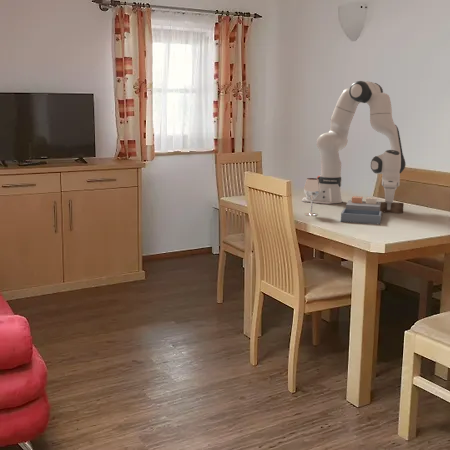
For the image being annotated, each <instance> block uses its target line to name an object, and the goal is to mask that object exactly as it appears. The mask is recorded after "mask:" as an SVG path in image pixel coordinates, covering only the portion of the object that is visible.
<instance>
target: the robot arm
mask: <svg viewBox="0 0 450 450" xmlns="http://www.w3.org/2000/svg"><path fill="white" fill-rule="evenodd" d="M361 103H362V104H367V105H368V106H369V121H370V126H371V127H372V129H373V130H375V132H378V133H380V134H382V135H384V136H386V138H388V140H389V147H390V149H387V150H385V151H384V152H383V153H382V154H378V155H376V156H374V157H372V159H371V162H370V169H371V172H373V173H374V174H377V175H382V177H381V186H383V189H384V202H386V203H387V210H390V209H391V203H393V202H394V198H395V192H396V190H397V189H398V187H400V184H401V182H400V181H401V175H400V174H402V172H404V170H405V169H406V160H405V157H404V153H403V146H402V142H401V135H400V130H399V127H398V126H397V125H396V124H395V121H394V119H393V110H392V102H391V97H390V95H389V94H387V93H385V92H384V90H383V87H382V86H381V85H380V84H378V83H376V82H372V81H369V80H367V81H365V80H357V81H354V82H353V83H352V84H351V85H350V86H349V87H347V88H344V90H343V91H342V93H341V94H340V96H339V97H338V99H337V101H336V104H335V107H334V109H333V112H332V115H331V116H330V117H331V118H330V128H329V130H328V131H327V132H324V133H322V134H320V135H319V136H318V137H317V139H316V146H317V149H318V151H319V157H320V165H321V166H320V175H318V176H317V177H316V178H317V179H319V183H320V189H321V191H320V193H319V195H318V196H317V197H315V198H314V199H313V202H312V204H313V203H315V204H324V205H325V204H326V205H330V204H340V203H342V202H343V199H342V191H341V189H342V188H341V187H342V181H343V180H342V161H341V159H340V154H339V152H340V151H342V150H343V149H344V148H345V147H346V146H347V145H348V136H349V130H350V127H351V123H352V122H353V119H354V116H355V113H356V110H357V108H358V106H359V105H360V104H361ZM301 201H302V202H305V203H311V200H310V198H309V197H308V196H307V195H306V194H305V196H304V197H302V199H301Z"/></svg>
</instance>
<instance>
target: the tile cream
mask: <svg viewBox="0 0 450 450" xmlns="http://www.w3.org/2000/svg"><path fill="white" fill-rule="evenodd" d="M365 201H366V204H376V203H377V202H378V197H376V196H375V197H371V196H367V197H366V199H365Z"/></svg>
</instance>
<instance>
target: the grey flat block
mask: <svg viewBox="0 0 450 450" xmlns="http://www.w3.org/2000/svg"><path fill="white" fill-rule="evenodd" d="M381 202H382V201H377V203H376V204H366V200H363V202H362V203H352V199H351V200H349V199H348V200H347V202H346V205H345V209H357V210H373V211H380V208H381Z"/></svg>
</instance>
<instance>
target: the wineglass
mask: <svg viewBox="0 0 450 450" xmlns="http://www.w3.org/2000/svg"><path fill="white" fill-rule="evenodd" d="M320 191H321V189H320V183H319V179H317V177H315V178H314V177H308V178H306V180H305V183H304V187H303V193H304V195H305V196H306V195H307V196H308V197H309V198H310V200H311V202H310V209H309V210H310V212H305V213H304V215H305V216H310V217H313V216H318V213H315V212H313V199H314V198H315V197H317V196H318V195H319V193H320Z"/></svg>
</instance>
